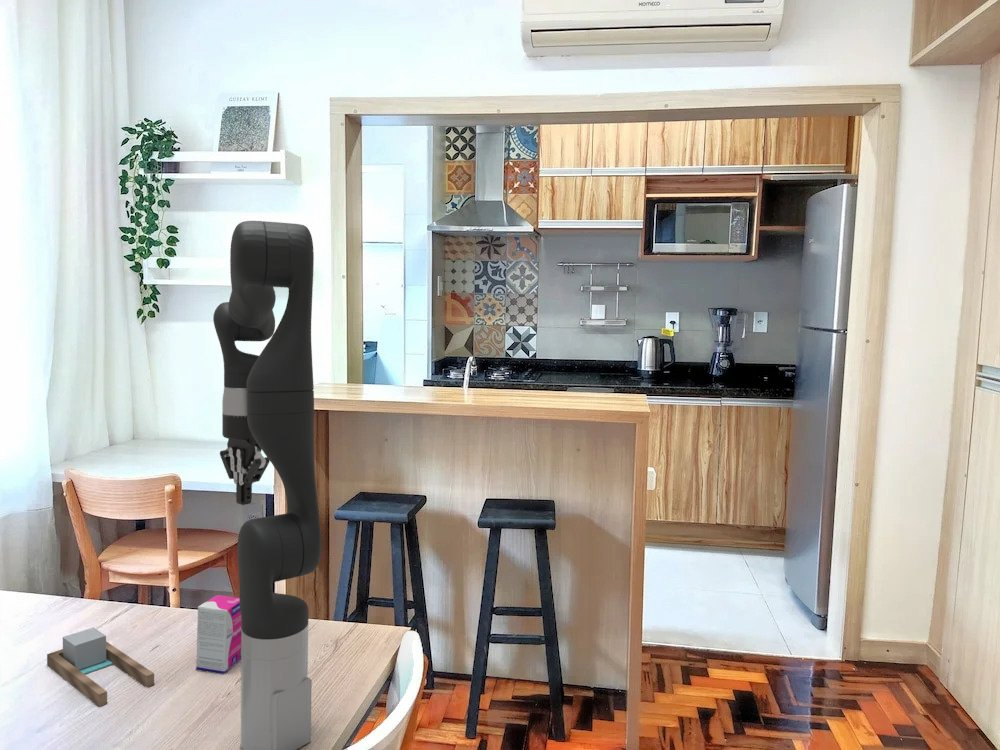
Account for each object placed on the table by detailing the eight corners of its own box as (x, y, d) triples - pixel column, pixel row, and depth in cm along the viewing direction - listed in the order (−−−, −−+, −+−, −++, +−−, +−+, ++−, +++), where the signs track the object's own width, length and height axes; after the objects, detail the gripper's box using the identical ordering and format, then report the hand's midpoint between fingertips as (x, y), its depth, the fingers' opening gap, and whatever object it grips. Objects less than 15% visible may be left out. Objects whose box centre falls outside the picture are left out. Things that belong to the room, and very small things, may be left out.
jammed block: (106, 660, 120) (106, 635, 120) (75, 671, 116) (74, 645, 116) (93, 651, 123) (93, 627, 123) (62, 661, 119) (62, 637, 119)
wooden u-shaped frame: (154, 684, 114) (154, 673, 114) (99, 706, 107) (98, 694, 107) (99, 647, 126) (99, 637, 126) (47, 665, 119) (47, 654, 119)
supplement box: (225, 675, 118) (226, 610, 117) (195, 670, 119) (195, 606, 118) (244, 659, 123) (245, 597, 123) (215, 655, 125) (215, 593, 124)
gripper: (283, 413, 125) (282, 506, 126) (242, 406, 133) (241, 494, 134) (246, 416, 119) (246, 514, 120) (205, 409, 127) (205, 501, 128)
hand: (243, 503), depth 127 cm, fingers closed
